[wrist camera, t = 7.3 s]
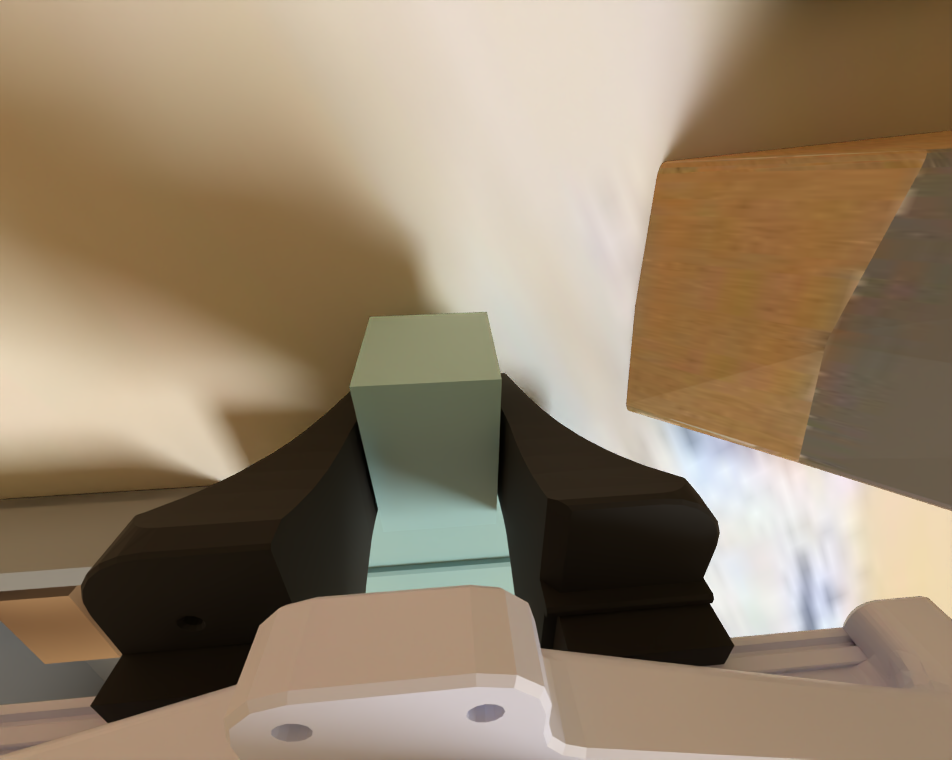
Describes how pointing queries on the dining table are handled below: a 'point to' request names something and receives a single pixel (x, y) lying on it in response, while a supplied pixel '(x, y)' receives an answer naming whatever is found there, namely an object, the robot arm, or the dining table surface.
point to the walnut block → (55, 624)
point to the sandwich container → (806, 307)
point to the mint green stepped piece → (432, 451)
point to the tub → (60, 577)
